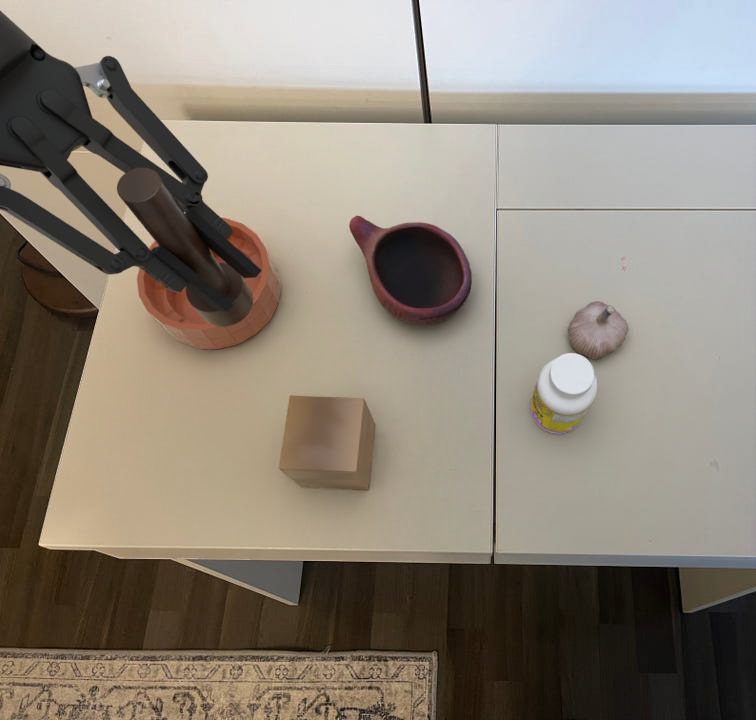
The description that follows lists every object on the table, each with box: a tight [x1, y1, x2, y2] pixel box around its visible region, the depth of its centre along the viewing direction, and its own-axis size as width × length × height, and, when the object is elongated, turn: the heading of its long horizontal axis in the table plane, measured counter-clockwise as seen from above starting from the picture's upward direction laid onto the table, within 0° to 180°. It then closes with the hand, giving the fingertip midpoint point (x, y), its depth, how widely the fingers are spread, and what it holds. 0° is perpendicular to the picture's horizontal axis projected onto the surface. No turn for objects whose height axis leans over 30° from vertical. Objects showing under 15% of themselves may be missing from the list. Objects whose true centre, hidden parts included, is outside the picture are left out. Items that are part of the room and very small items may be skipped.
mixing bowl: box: [136, 217, 282, 350], centre depth 83 cm, size 16×16×6 cm
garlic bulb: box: [567, 301, 629, 360], centre depth 81 cm, size 8×7×8 cm
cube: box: [278, 394, 376, 491], centre depth 74 cm, size 8×8×10 cm
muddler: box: [116, 168, 253, 327], centre depth 51 cm, size 5×5×17 cm
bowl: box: [348, 215, 473, 326], centre depth 83 cm, size 16×13×8 cm
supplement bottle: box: [530, 352, 598, 435], centre depth 75 cm, size 7×7×13 cm
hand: (238, 290), depth 52 cm, fingers closed on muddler, 3 cm apart
